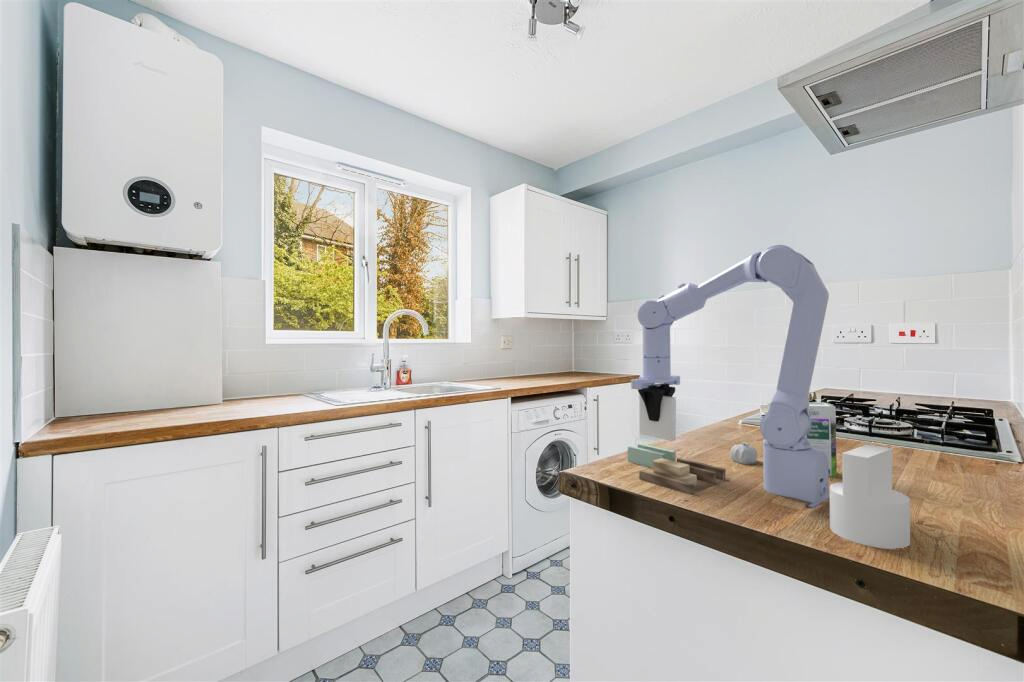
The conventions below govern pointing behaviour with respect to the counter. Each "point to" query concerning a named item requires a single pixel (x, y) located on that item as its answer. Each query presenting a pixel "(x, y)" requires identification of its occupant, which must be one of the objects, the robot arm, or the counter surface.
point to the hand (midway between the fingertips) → (656, 420)
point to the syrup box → (823, 432)
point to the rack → (704, 472)
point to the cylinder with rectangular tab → (869, 501)
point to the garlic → (743, 453)
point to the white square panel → (660, 420)
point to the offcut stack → (674, 470)
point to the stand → (648, 454)
